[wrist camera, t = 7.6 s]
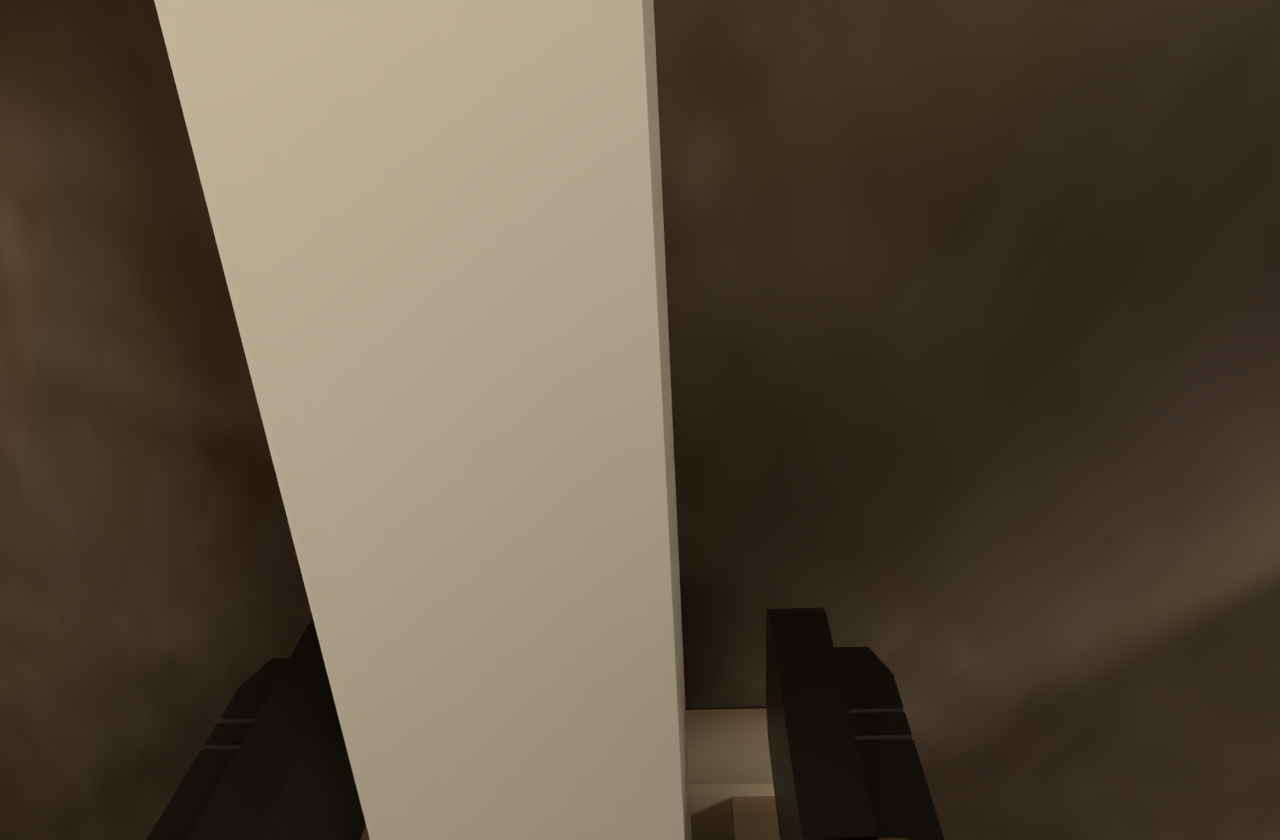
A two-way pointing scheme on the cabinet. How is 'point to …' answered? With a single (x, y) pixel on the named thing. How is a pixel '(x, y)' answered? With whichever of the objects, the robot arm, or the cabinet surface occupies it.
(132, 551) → the cabinet surface
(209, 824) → the robot arm
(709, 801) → the socket
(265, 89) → the cream square bar
